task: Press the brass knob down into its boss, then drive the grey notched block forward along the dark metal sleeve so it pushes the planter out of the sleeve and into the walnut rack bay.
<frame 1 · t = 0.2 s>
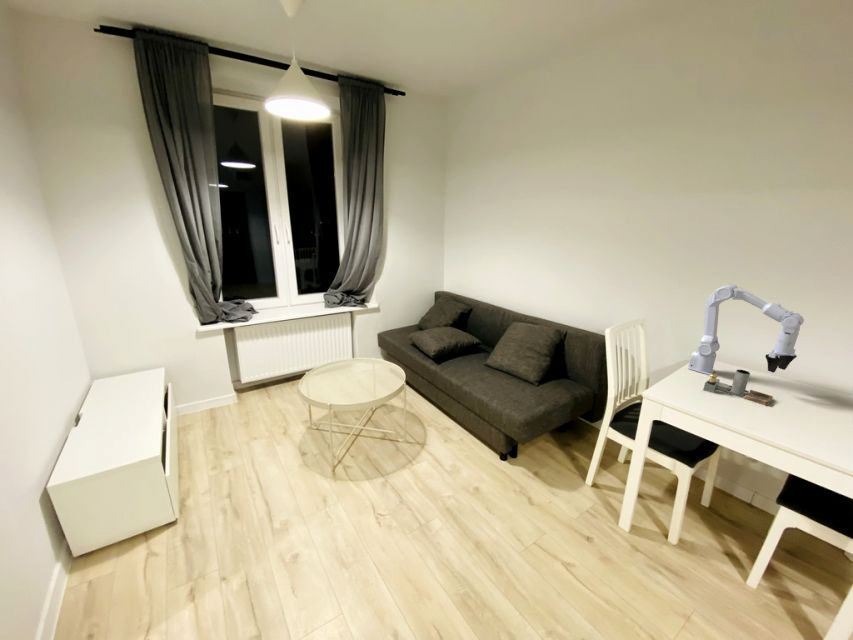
hand: (776, 370, 155), 10 cm above the table, fingers open, 7 cm apart
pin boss: (709, 390, 159), on the table
grey notched block: (718, 387, 162), on the table
rack bay: (757, 398, 151), on the table
planter: (737, 393, 156), on the table
brass knob: (712, 379, 157), point 5 cm above the table, slide at 0.0 cm
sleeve: (726, 389, 159), on the table
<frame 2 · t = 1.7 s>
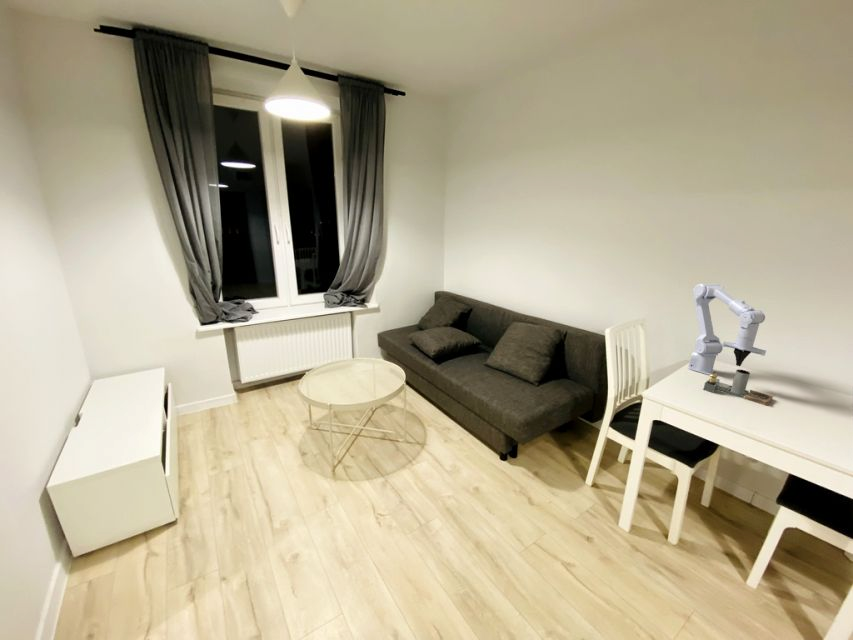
hand: (738, 365, 159), 10 cm above the table, fingers closed
nothing on the table moved.
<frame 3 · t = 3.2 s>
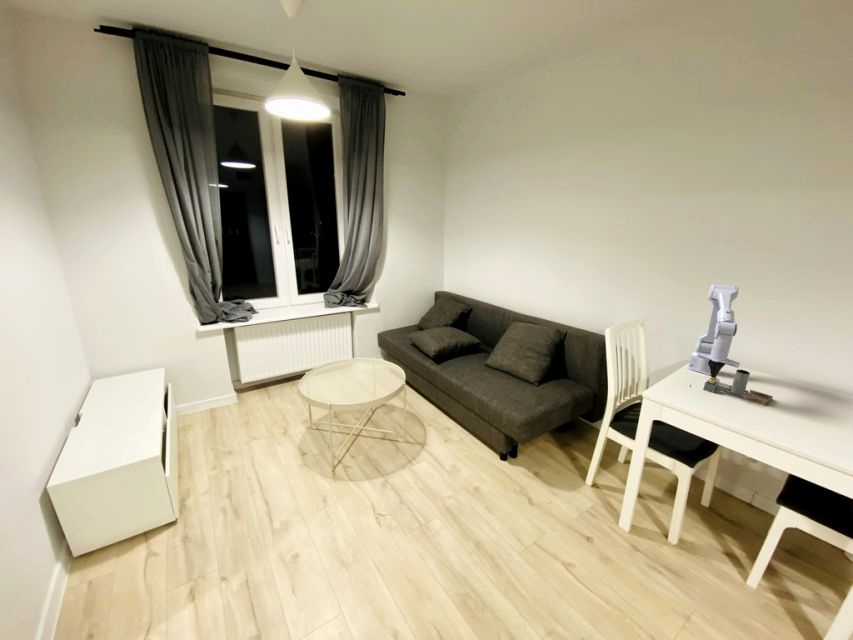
hand: (713, 376, 157), 7 cm above the table, fingers closed, pressing on brass knob
brass knob: (712, 381, 157), point 4 cm above the table, slide at 1.0 cm, touching gripper
everything else where it was.
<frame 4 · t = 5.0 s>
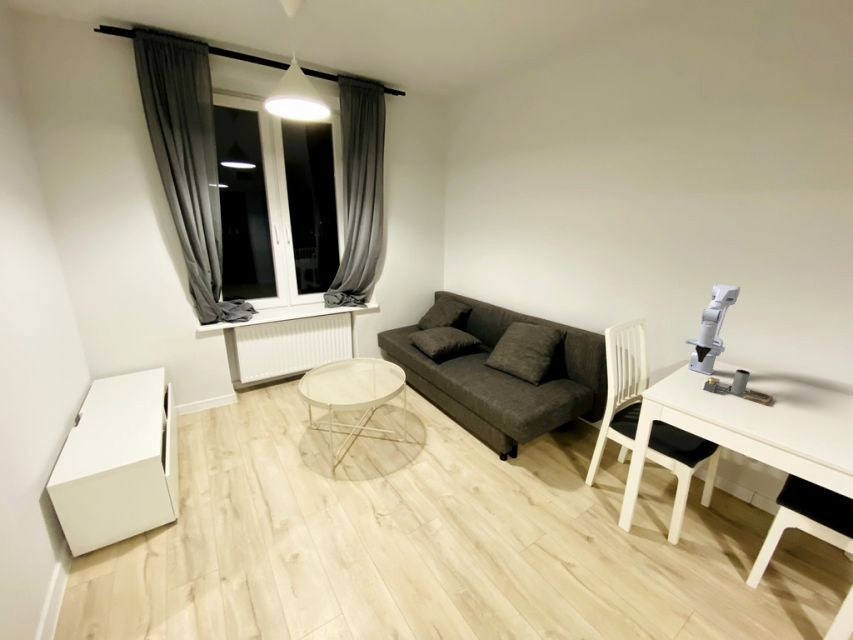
hand: (700, 361, 165), 10 cm above the table, fingers closed
brass knob: (711, 384, 158), point 3 cm above the table, slide at 2.3 cm
everything else where it was.
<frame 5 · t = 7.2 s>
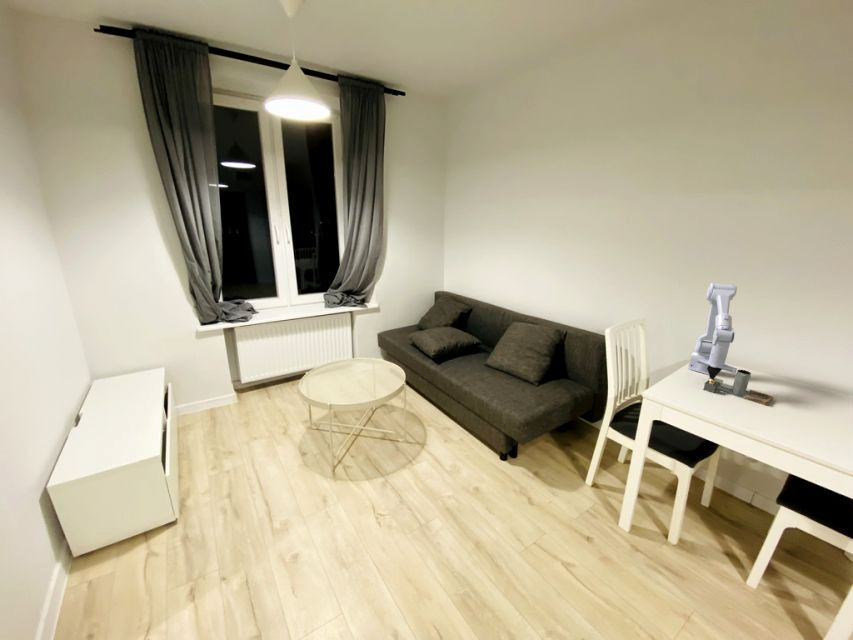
hand: (711, 381, 163), 1 cm above the table, fingers closed
grey notched block: (721, 387, 161), on the table, touching gripper
everything else where it was.
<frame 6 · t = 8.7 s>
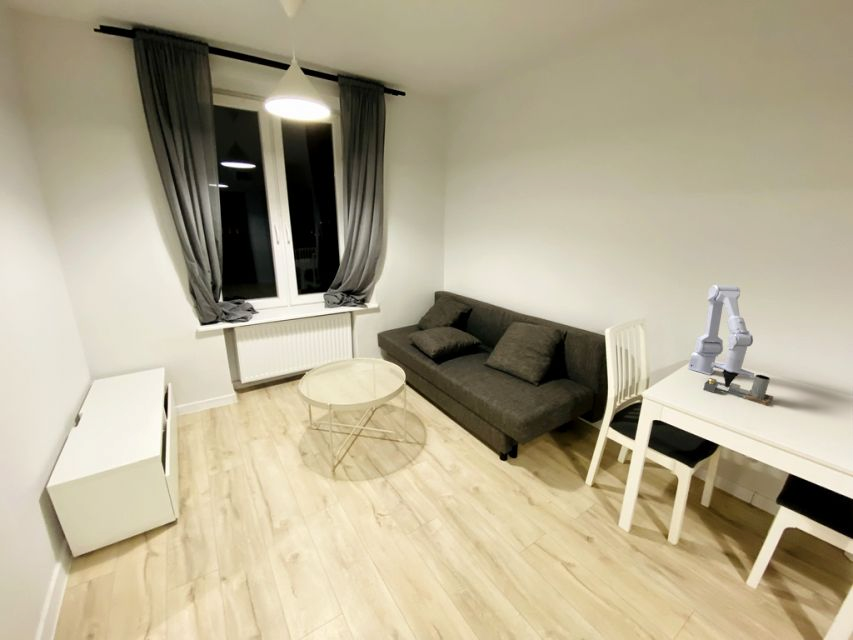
hand: (727, 386, 159), 1 cm above the table, fingers closed
grey notched block: (739, 393, 156), on the table, touching gripper, planter
planter: (755, 399, 151), on the table, touching grey notched block
everything else where it was.
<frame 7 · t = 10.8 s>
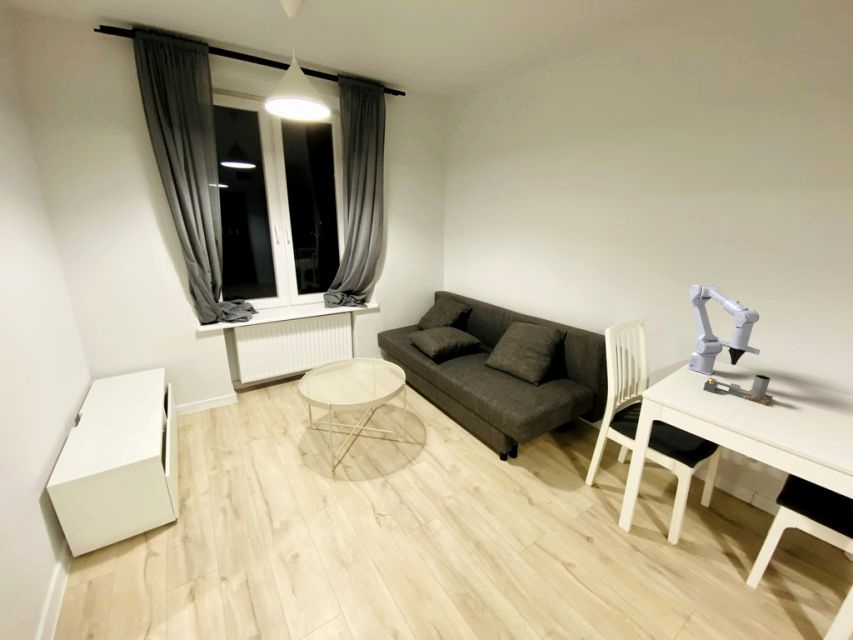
hand: (733, 364, 162), 10 cm above the table, fingers closed
grey notched block: (739, 393, 156), on the table
planter: (756, 399, 151), on the table
everything else where it was.
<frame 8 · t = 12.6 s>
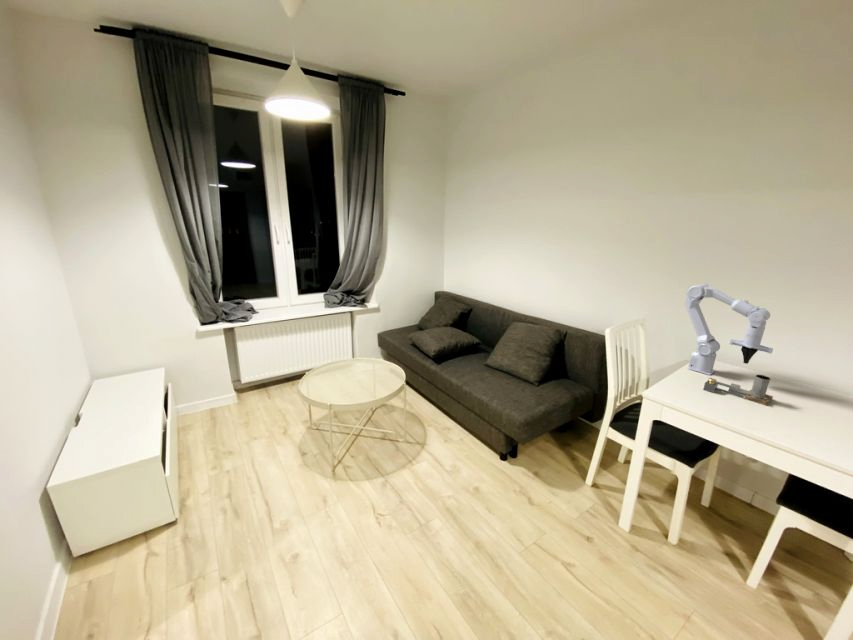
hand: (745, 362, 163), 10 cm above the table, fingers closed
nothing on the table moved.
at the end: planter 0.3 cm off-centre on the rack bay, point 0.0 cm above the rack bay's base; planter tilted 0°; brass knob slide at 2.3 cm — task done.
